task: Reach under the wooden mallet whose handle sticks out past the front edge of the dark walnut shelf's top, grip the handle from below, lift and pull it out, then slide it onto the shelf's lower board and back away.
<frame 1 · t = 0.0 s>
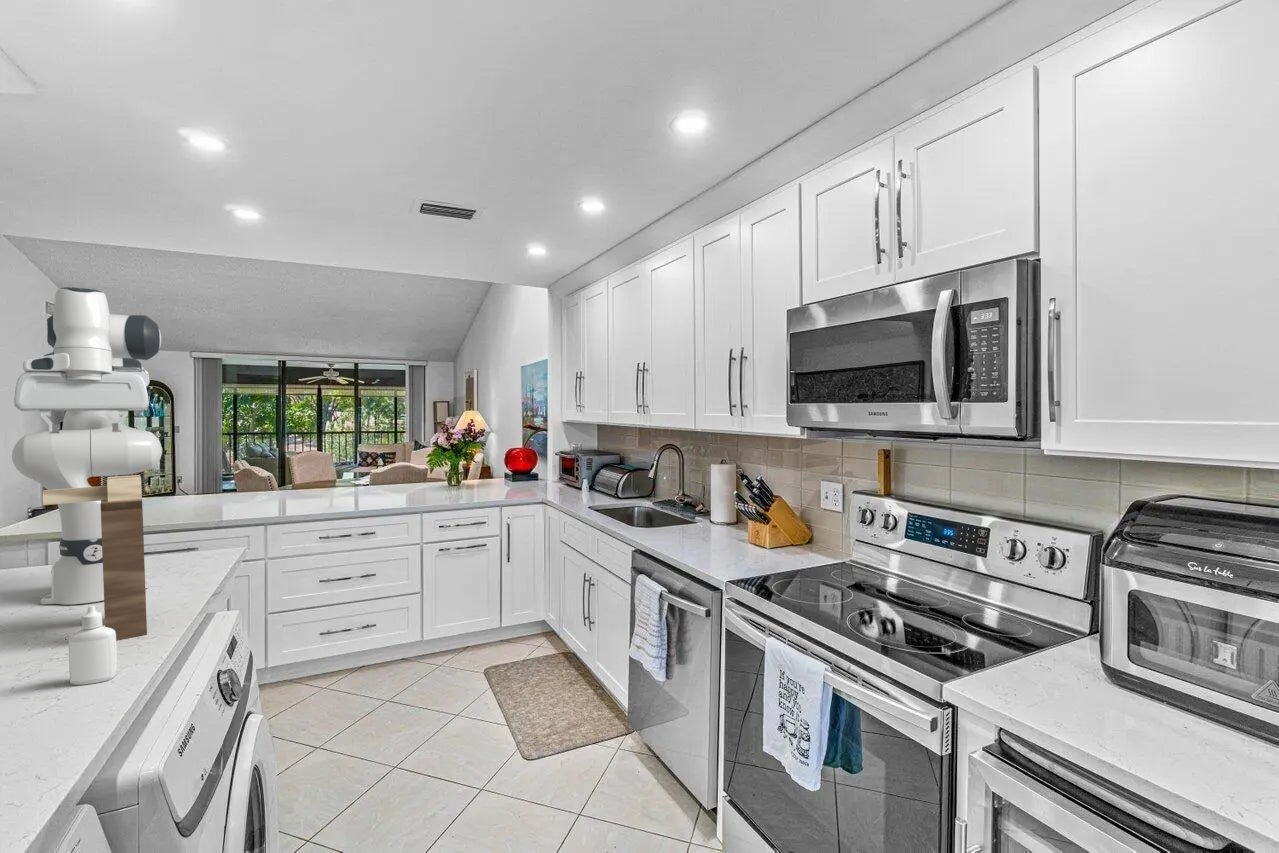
hand: (86, 432, 124), 39 cm above the countertop, tool pointing down, fingers open, 8 cm apart
walnut shelf: (126, 628, 121), on the countertop
wooden mallet: (86, 500, 117), point 26 cm above the countertop, touching walnut shelf
eye dropper bottle: (94, 681, 98), on the countertop
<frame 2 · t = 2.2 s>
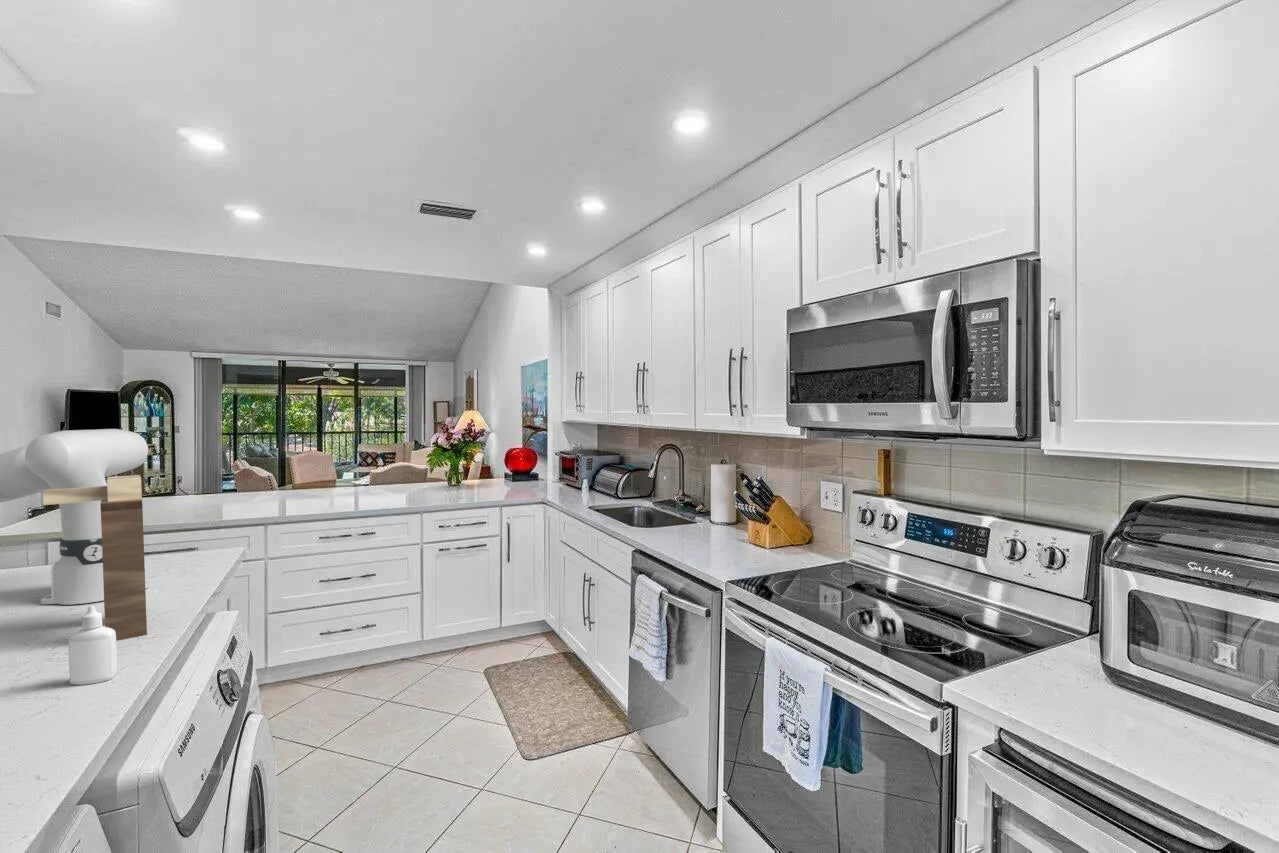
nothing on the countertop moved.
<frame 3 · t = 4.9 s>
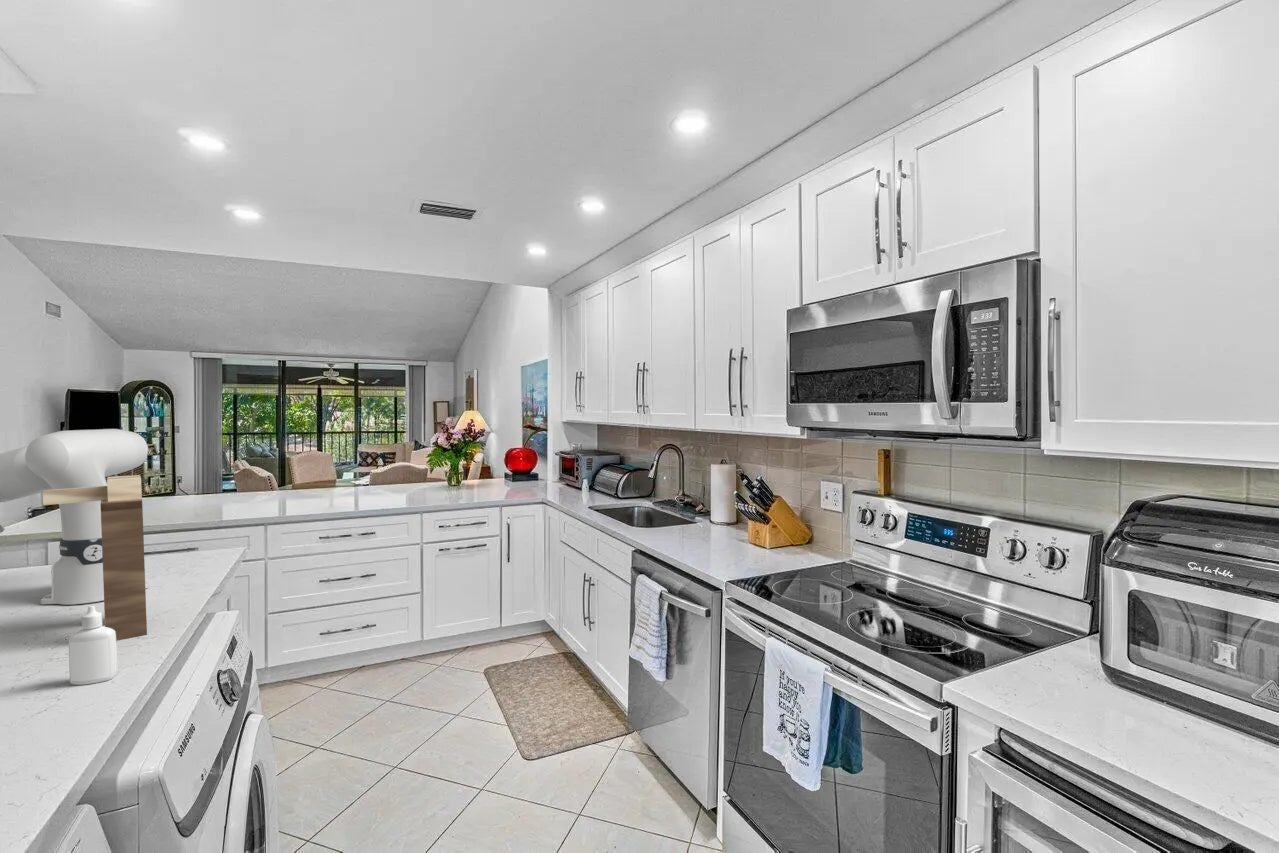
nothing on the countertop moved.
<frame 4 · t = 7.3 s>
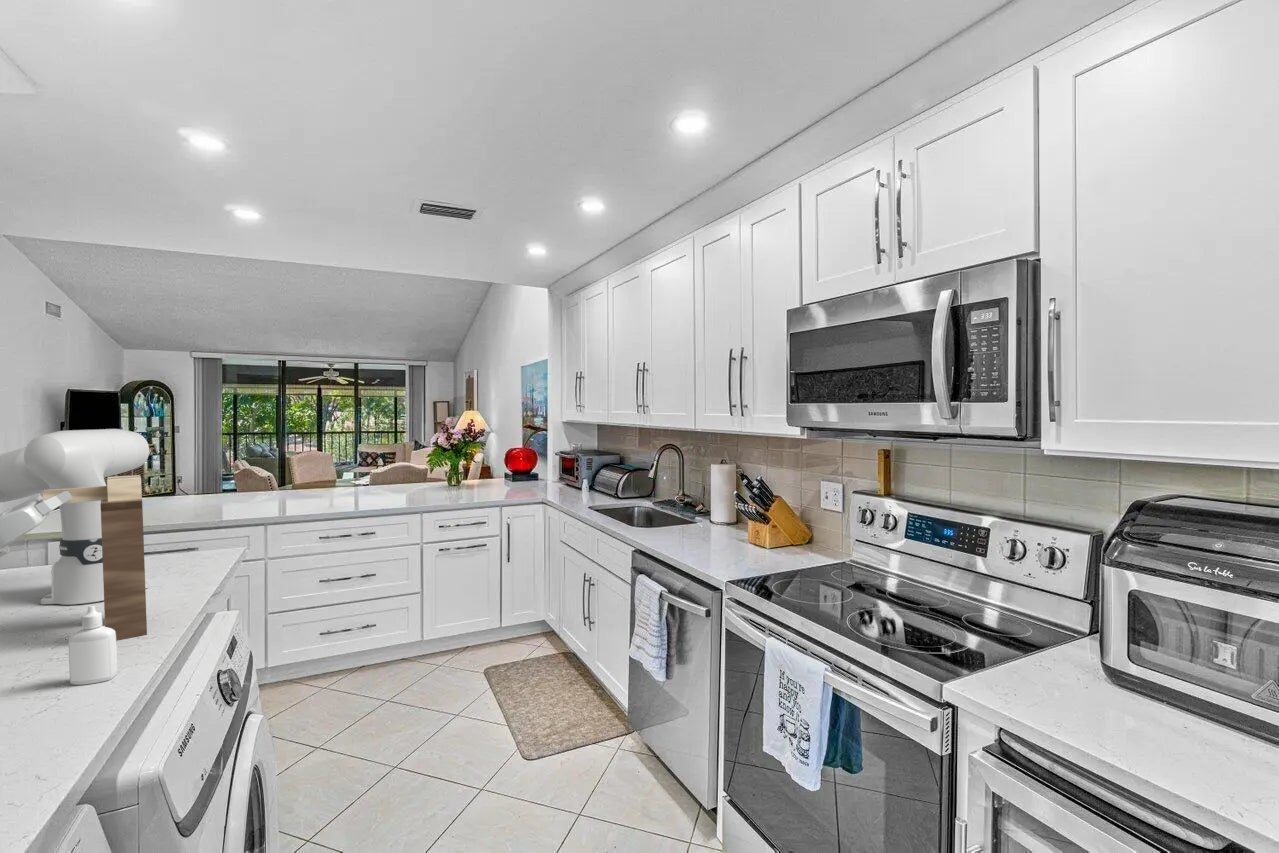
hand: (71, 492, 115), 28 cm above the countertop, tool pointing upward, fingers closed on wooden mallet, 3 cm apart
wooden mallet: (86, 500, 117), point 26 cm above the countertop, touching gripper, walnut shelf
everything else where it was.
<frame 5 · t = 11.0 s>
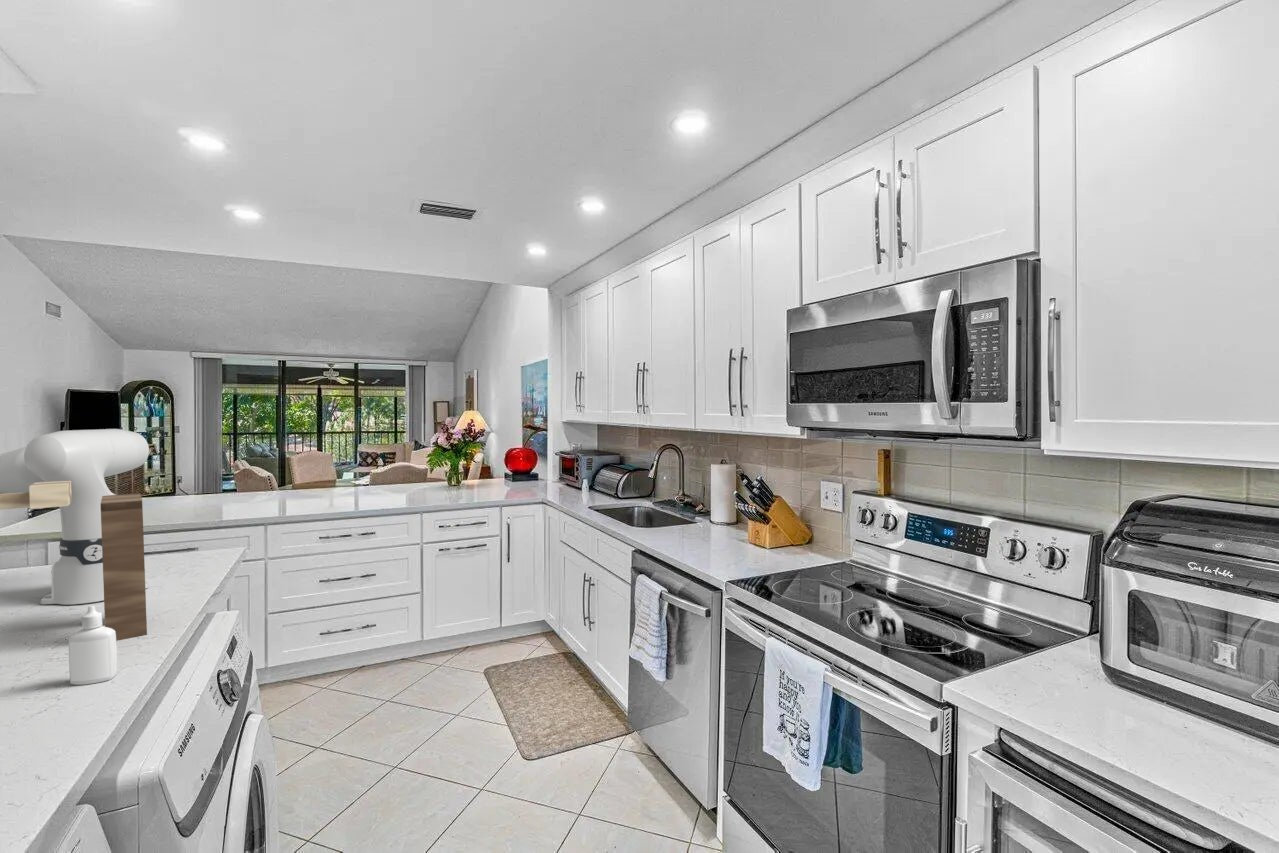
wooden mallet: (8, 508, 110), point 26 cm above the countertop, touching gripper
everything else where it was.
when the fingers open (18 cm above the countertop, at t = 14.7 s): wooden mallet drops 1 cm, resting on walnut shelf.
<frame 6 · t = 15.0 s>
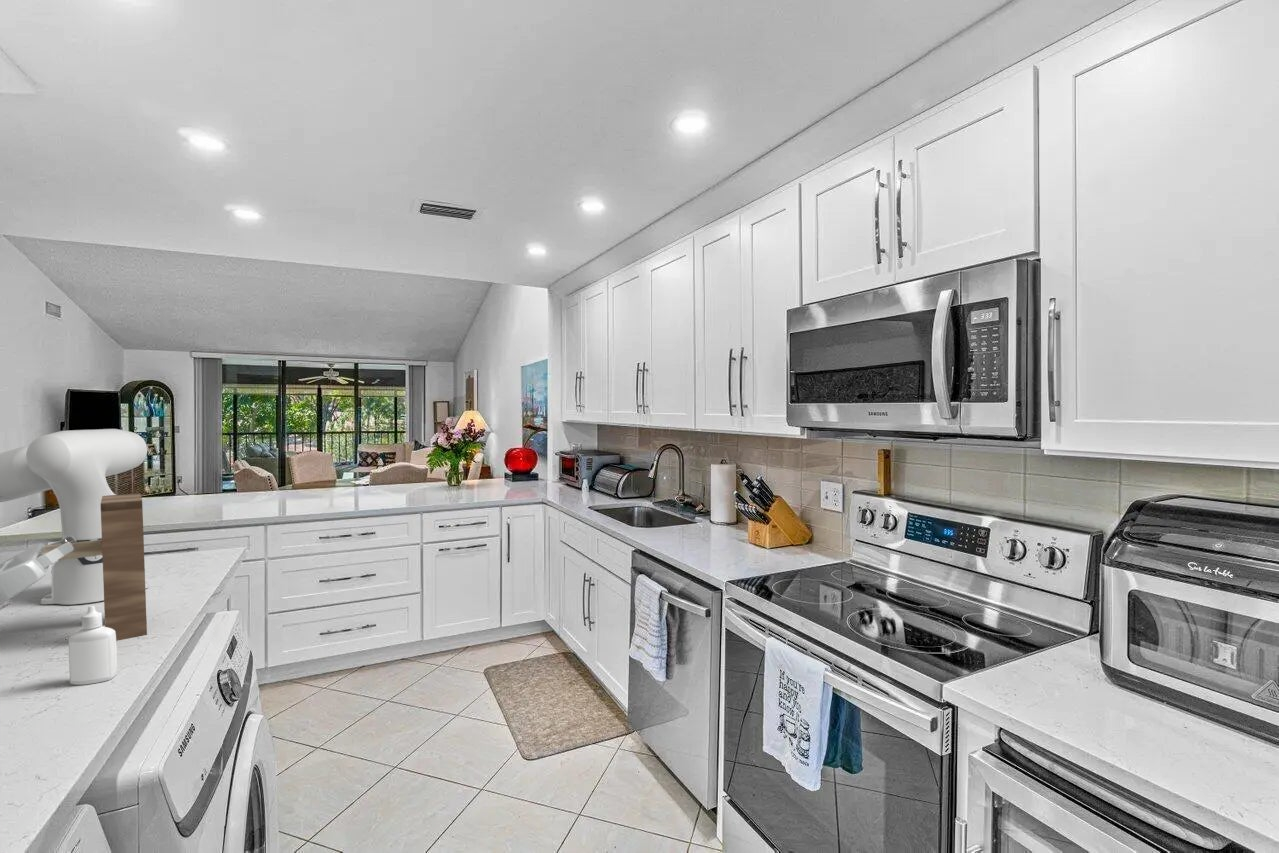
hand: (73, 541, 116), 18 cm above the countertop, tool pointing upward, fingers open, 6 cm apart
wooden mallet: (87, 555, 117), point 15 cm above the countertop, touching walnut shelf
everything else where it was.
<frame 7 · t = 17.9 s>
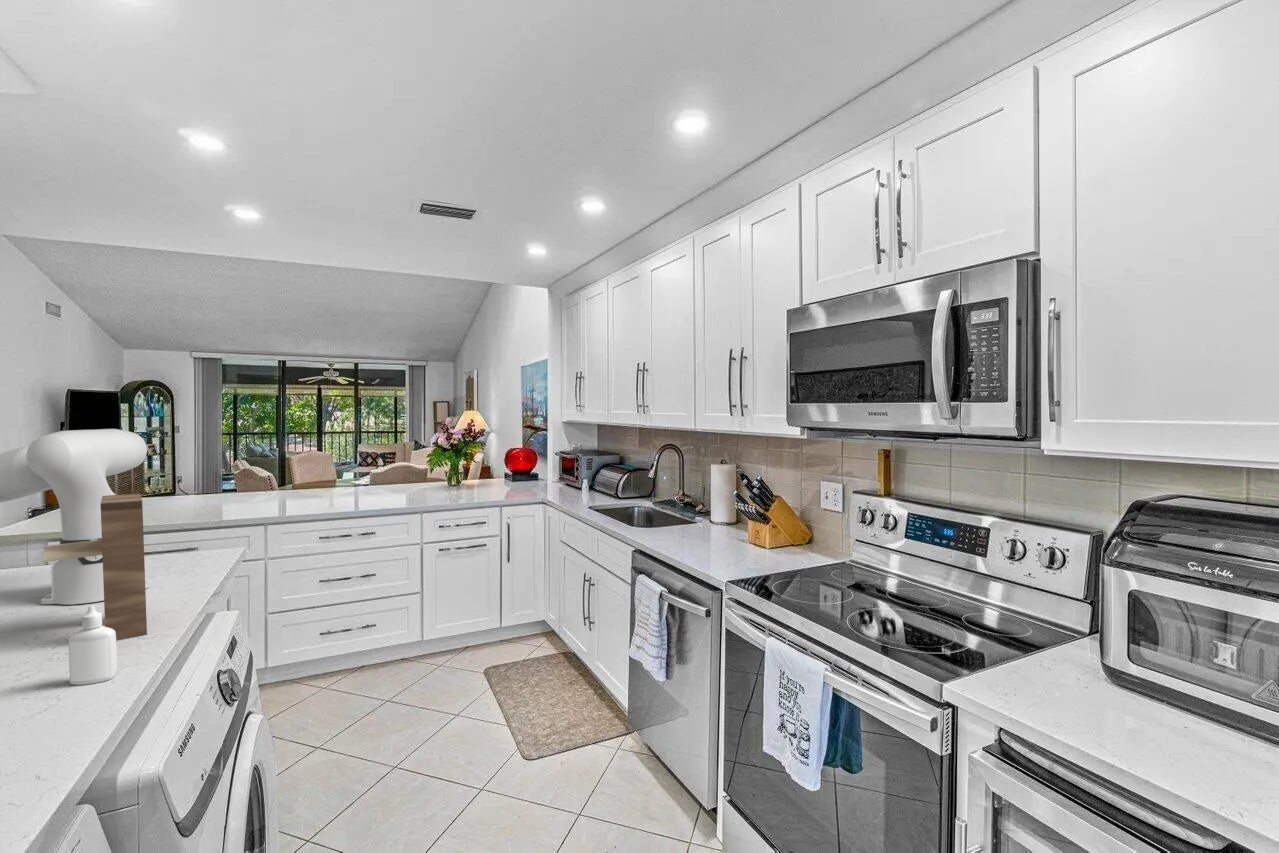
nothing on the countertop moved.
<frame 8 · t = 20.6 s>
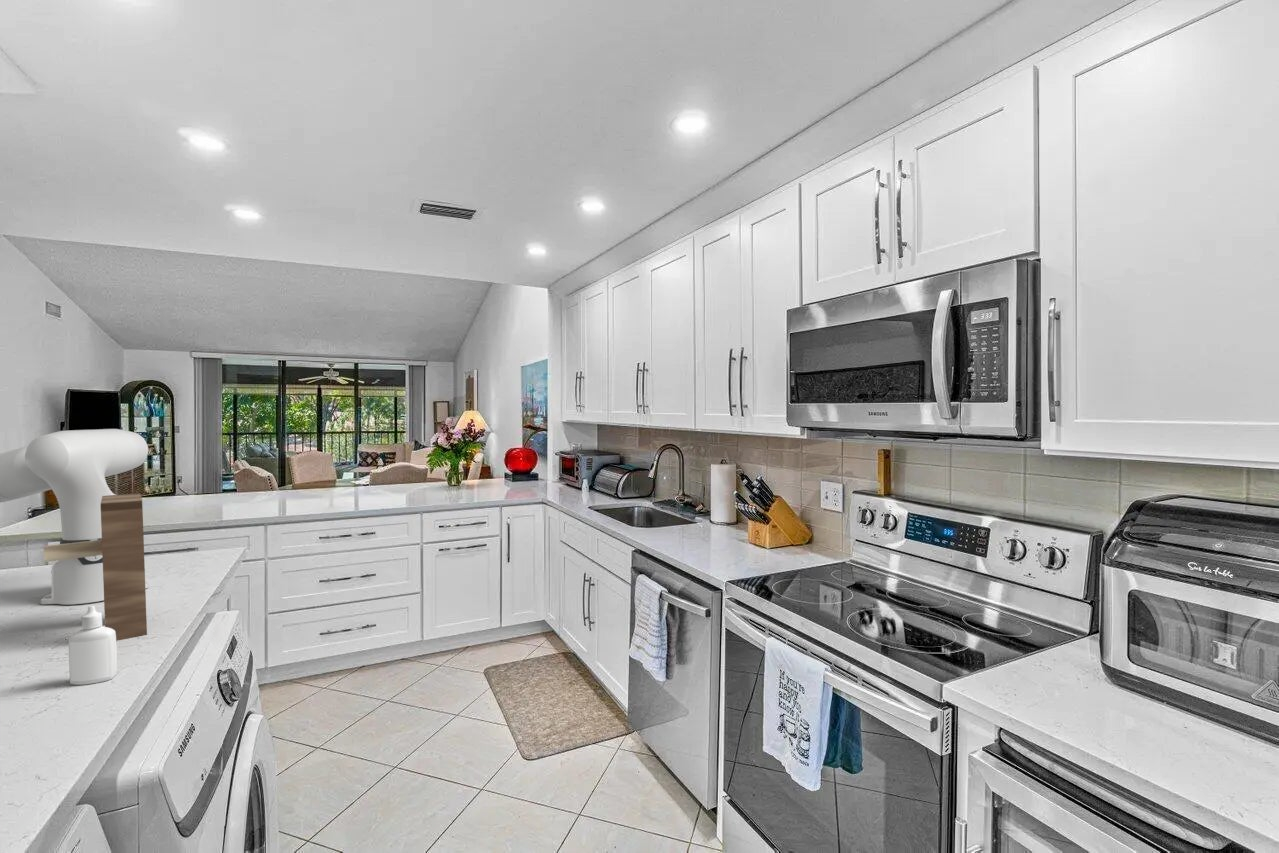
nothing on the countertop moved.
at the end: wooden mallet inside the target area on the walnut shelf (0.3 cm from its centre), point 15.5 cm above the walnut shelf's base; the gripper is holding nothing; wooden mallet tilted 0° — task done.
